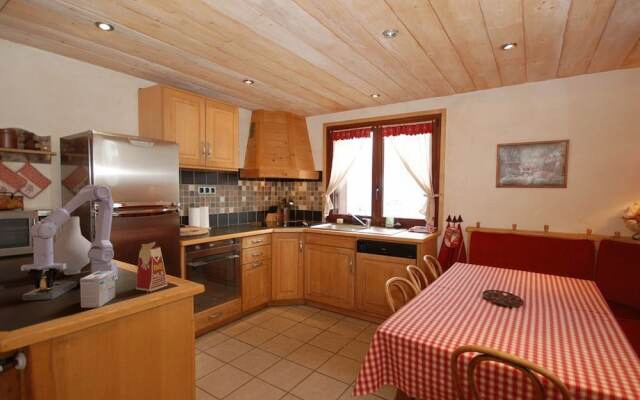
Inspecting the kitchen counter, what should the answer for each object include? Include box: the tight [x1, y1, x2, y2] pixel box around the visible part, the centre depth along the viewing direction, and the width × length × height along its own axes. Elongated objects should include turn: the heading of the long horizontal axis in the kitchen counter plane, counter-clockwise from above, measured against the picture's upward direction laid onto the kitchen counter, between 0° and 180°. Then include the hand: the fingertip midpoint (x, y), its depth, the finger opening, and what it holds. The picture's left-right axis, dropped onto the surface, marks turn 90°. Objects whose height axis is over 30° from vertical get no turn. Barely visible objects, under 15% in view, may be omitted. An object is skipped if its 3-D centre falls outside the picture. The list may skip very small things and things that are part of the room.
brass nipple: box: [39, 275, 50, 293], centre depth 126 cm, size 3×3×7 cm
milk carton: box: [135, 241, 168, 292], centre depth 137 cm, size 9×9×20 cm
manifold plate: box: [22, 280, 78, 302], centre depth 129 cm, size 10×16×2 cm, turn 10°
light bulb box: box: [79, 271, 116, 308], centre depth 120 cm, size 11×7×11 cm, turn 5°
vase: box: [53, 216, 92, 276], centre depth 158 cm, size 17×16×28 cm
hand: (44, 287), depth 125 cm, fingers open, 3 cm apart
